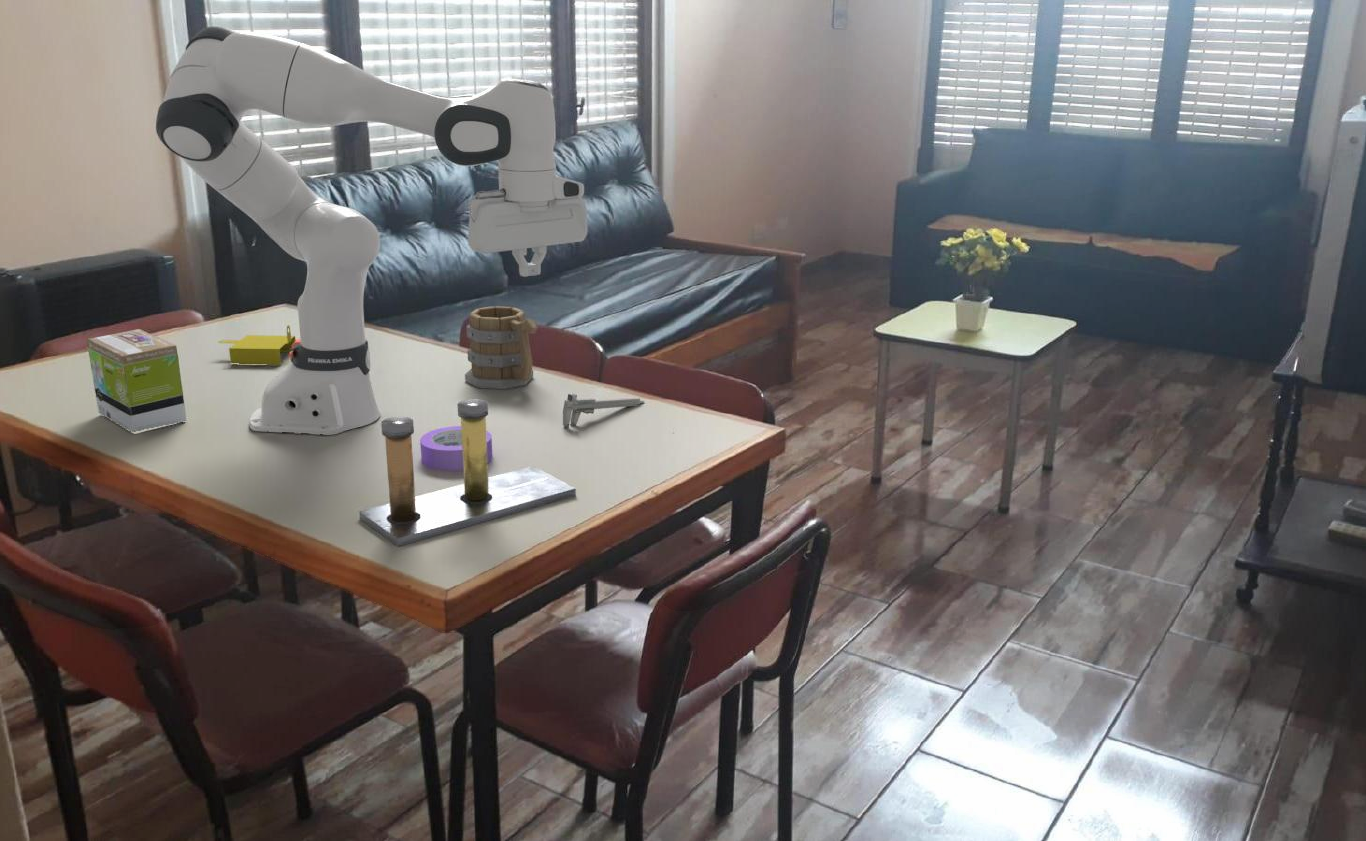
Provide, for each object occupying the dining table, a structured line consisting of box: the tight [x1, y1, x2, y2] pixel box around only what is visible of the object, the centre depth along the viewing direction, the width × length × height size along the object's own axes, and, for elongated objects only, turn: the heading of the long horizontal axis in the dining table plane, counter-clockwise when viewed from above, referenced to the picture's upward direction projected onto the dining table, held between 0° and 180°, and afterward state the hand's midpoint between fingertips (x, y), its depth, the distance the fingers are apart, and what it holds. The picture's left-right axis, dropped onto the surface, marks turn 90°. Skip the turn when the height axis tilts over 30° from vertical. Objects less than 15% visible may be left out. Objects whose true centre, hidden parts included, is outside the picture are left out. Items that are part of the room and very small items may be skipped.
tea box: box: [86, 328, 187, 432], centre depth 213 cm, size 15×10×15 cm, turn 47°
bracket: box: [217, 325, 297, 366], centre depth 252 cm, size 16×8×15 cm
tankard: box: [464, 305, 538, 390], centre depth 236 cm, size 20×13×15 cm, turn 37°
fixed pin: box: [380, 416, 416, 522], centre depth 171 cm, size 4×4×15 cm
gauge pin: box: [457, 398, 489, 501], centre depth 178 cm, size 4×4×15 cm
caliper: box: [562, 393, 645, 429], centre depth 221 cm, size 20×1×6 cm, turn 139°
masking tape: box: [419, 425, 493, 472], centre depth 199 cm, size 12×12×4 cm
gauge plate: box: [358, 465, 577, 547], centre depth 180 cm, size 30×12×1 cm, turn 130°
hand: (530, 275), depth 190 cm, fingers closed
